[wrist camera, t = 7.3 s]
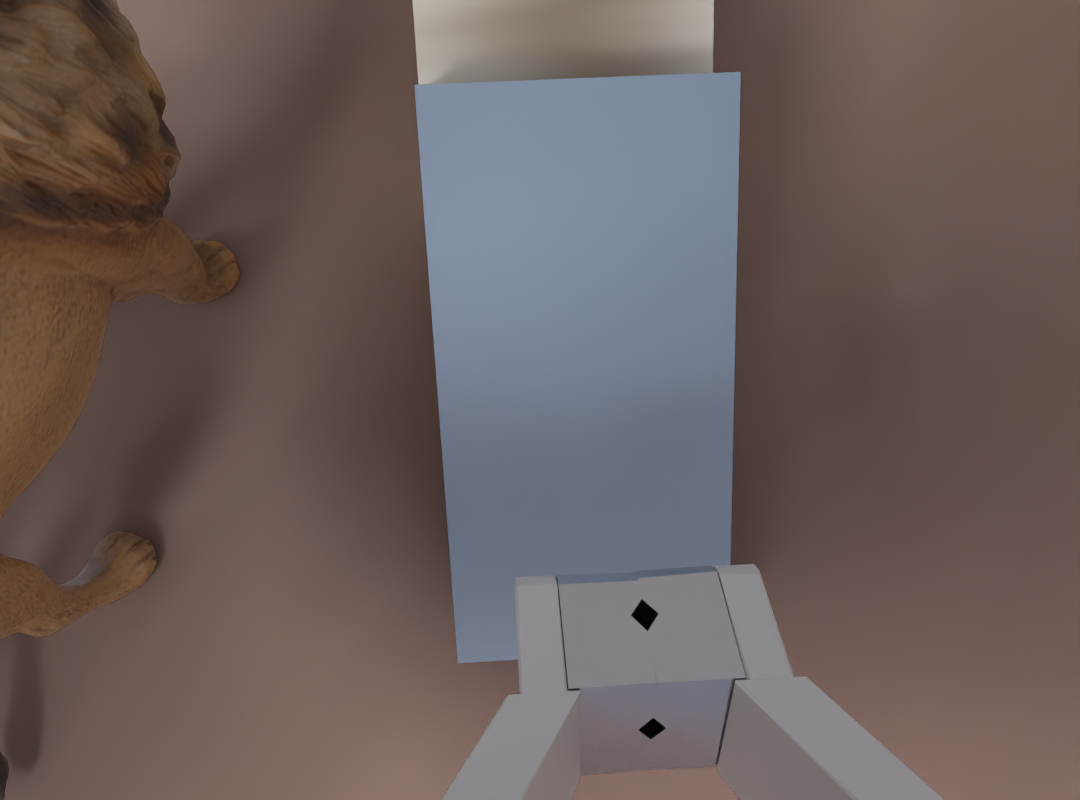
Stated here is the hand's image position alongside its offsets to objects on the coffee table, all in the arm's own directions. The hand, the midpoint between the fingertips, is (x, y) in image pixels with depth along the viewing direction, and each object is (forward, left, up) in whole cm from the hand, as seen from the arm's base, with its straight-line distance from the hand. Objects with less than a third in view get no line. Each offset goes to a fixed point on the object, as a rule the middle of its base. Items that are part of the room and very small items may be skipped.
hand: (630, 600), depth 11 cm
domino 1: (0, -1, -6) cm, 6 cm away
